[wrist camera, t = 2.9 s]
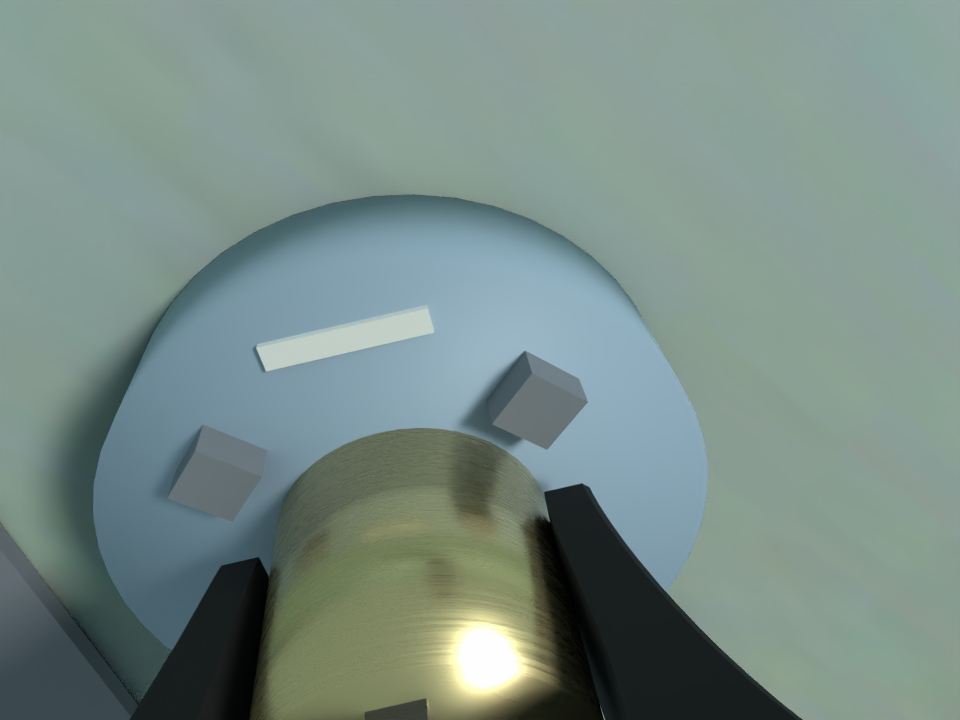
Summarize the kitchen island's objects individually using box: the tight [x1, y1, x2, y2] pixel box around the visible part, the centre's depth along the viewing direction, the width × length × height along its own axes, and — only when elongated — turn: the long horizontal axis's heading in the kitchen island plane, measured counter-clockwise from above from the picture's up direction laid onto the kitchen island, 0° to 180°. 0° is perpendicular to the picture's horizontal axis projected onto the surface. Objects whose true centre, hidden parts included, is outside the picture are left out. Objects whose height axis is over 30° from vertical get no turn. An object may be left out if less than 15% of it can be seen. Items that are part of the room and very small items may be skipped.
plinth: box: [93, 194, 708, 651], centre depth 14 cm, size 10×10×3 cm
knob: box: [249, 428, 604, 720], centre depth 11 cm, size 4×4×5 cm
